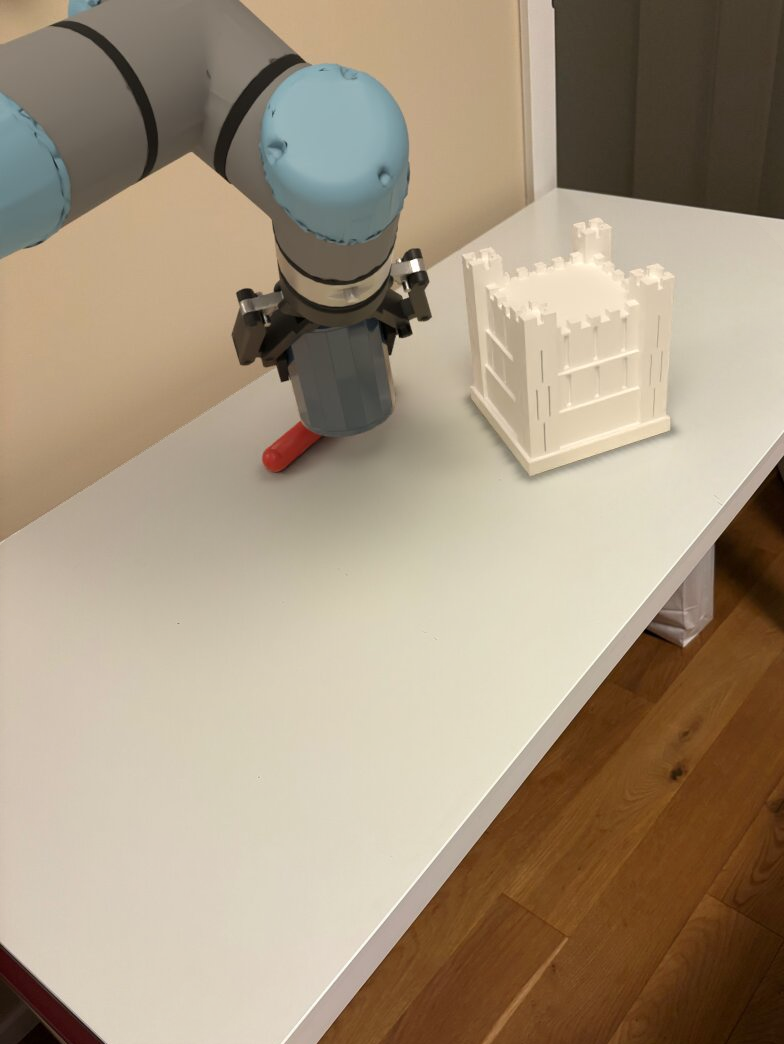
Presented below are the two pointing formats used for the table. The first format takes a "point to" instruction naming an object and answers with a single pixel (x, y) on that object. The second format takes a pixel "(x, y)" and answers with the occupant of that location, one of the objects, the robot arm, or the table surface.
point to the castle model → (569, 351)
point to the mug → (342, 378)
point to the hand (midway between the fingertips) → (332, 354)
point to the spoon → (288, 447)
